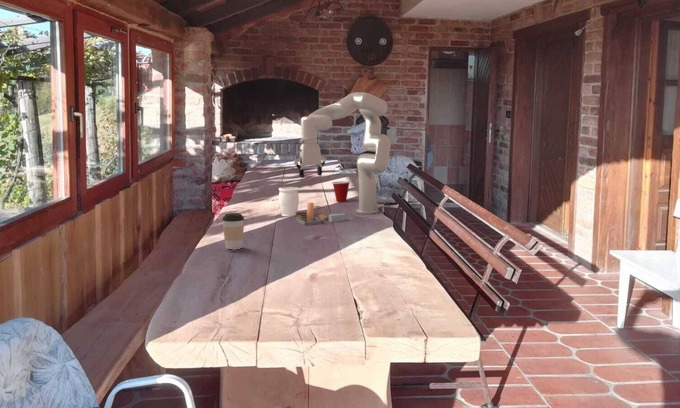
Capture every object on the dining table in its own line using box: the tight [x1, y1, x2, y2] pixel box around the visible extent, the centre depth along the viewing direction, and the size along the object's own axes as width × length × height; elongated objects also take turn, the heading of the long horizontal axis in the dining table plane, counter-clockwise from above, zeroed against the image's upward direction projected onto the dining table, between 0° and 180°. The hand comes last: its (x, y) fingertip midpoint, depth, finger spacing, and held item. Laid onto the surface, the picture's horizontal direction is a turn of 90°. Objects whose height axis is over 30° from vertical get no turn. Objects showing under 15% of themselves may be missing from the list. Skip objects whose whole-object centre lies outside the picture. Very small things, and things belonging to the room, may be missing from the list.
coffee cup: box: [222, 212, 245, 250], centre depth 284 cm, size 9×9×15 cm
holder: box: [295, 213, 307, 221], centre depth 342 cm, size 8×8×3 cm
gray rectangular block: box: [328, 213, 347, 223], centre depth 338 cm, size 8×3×4 cm, turn 117°
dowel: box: [306, 202, 315, 222], centre depth 333 cm, size 3×3×10 cm
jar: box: [278, 186, 300, 217], centre depth 353 cm, size 11×10×15 cm
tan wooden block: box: [318, 213, 333, 222], centre depth 343 cm, size 8×8×3 cm
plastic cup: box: [331, 180, 351, 203], centre depth 398 cm, size 11×11×12 cm
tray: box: [296, 216, 325, 226], centre depth 333 cm, size 10×9×2 cm
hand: (310, 176), depth 334 cm, fingers open, 9 cm apart
